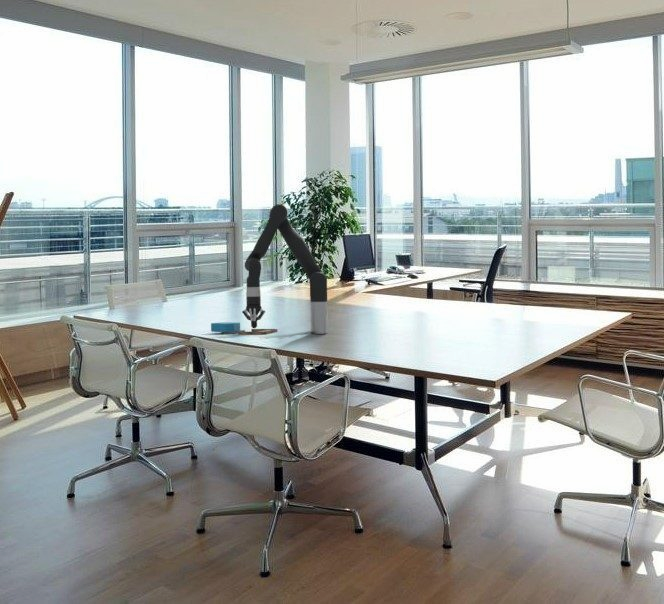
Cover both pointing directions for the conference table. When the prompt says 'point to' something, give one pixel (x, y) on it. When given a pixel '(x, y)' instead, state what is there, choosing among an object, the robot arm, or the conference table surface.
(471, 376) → the conference table surface
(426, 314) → the conference table surface
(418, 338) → the conference table surface
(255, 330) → the brown wooden frame
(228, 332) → the rubber mat
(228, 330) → the data package
